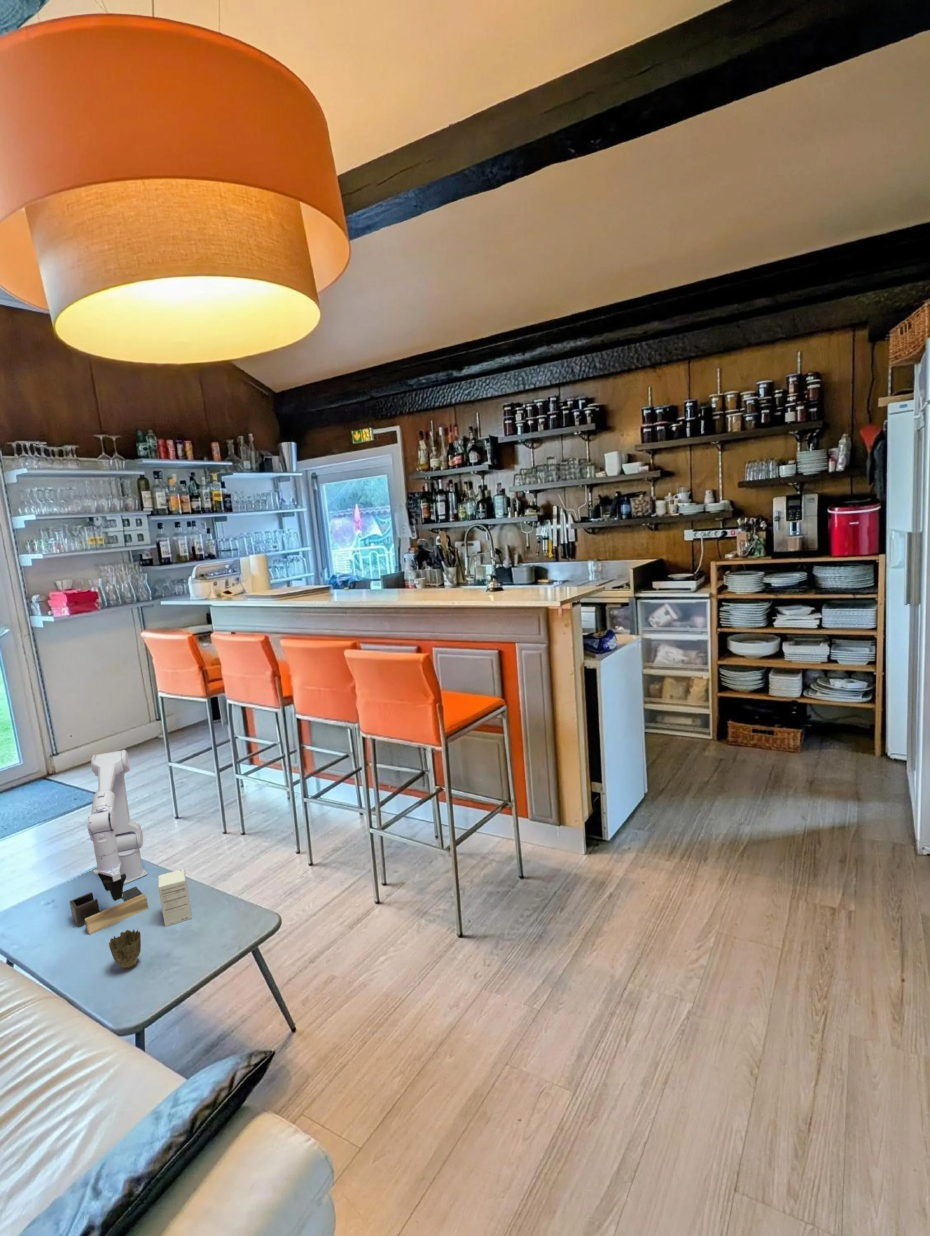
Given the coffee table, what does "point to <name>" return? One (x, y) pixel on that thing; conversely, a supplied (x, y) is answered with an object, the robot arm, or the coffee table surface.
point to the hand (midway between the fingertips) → (113, 894)
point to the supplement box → (174, 897)
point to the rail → (116, 914)
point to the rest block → (131, 893)
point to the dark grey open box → (83, 908)
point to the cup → (126, 948)
